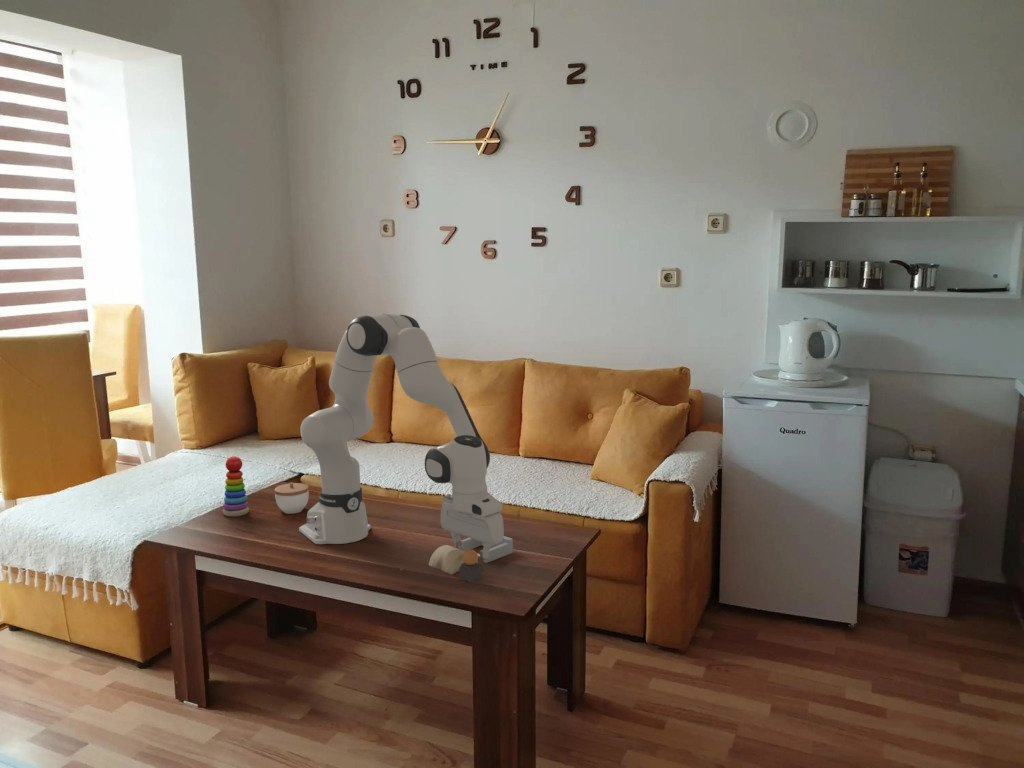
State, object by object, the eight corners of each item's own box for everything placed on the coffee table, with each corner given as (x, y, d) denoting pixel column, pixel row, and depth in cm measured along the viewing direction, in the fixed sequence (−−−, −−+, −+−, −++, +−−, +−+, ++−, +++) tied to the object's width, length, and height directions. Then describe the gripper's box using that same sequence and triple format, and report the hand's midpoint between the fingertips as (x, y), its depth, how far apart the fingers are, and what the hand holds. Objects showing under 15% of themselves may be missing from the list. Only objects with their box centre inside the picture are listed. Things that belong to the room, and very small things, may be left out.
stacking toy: (244, 517, 251) (240, 460, 248) (219, 517, 251) (215, 460, 248) (252, 509, 259) (248, 453, 256) (228, 509, 259) (224, 453, 256)
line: (465, 551, 221) (465, 550, 221) (468, 550, 221) (468, 549, 221) (488, 559, 215) (488, 559, 215) (490, 558, 215) (490, 558, 215)
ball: (459, 565, 202) (459, 550, 201) (470, 560, 205) (470, 545, 204) (469, 569, 199) (469, 554, 199) (481, 564, 202) (481, 549, 201)
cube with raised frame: (459, 578, 203) (459, 564, 202) (471, 573, 205) (470, 559, 205) (470, 582, 200) (469, 568, 199) (481, 577, 203) (481, 563, 202)
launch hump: (428, 586, 212) (427, 550, 211) (456, 575, 219) (456, 540, 218) (451, 596, 206) (450, 559, 204) (479, 584, 213) (478, 549, 211)
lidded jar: (281, 505, 263) (279, 478, 261) (313, 505, 263) (312, 478, 261) (271, 516, 252) (269, 487, 251) (305, 516, 252) (303, 487, 250)
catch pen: (457, 552, 220) (457, 538, 220) (484, 542, 227) (483, 528, 227) (486, 563, 212) (486, 548, 212) (512, 552, 219) (512, 538, 219)
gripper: (433, 495, 204) (435, 546, 206) (488, 511, 190) (490, 566, 192) (452, 489, 209) (453, 539, 211) (507, 505, 195) (508, 559, 197)
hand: (471, 552), depth 201 cm, fingers open, 8 cm apart
